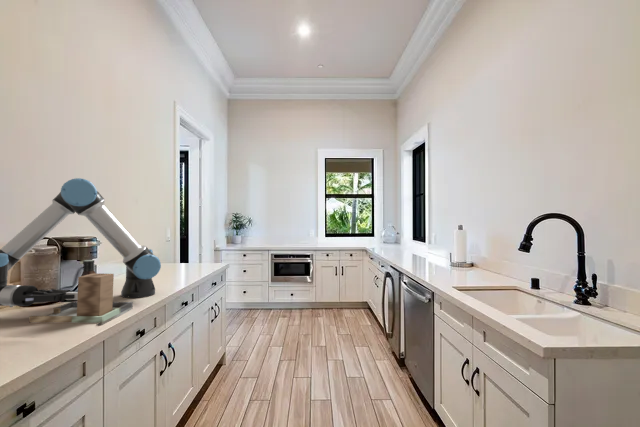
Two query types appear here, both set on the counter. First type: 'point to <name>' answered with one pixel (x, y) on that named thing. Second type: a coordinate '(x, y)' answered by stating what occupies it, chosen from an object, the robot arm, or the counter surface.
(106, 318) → the bay end wall
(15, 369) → the counter surface
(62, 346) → the counter surface
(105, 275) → the walnut block
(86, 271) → the sauce bottle
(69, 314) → the grey flat tray
